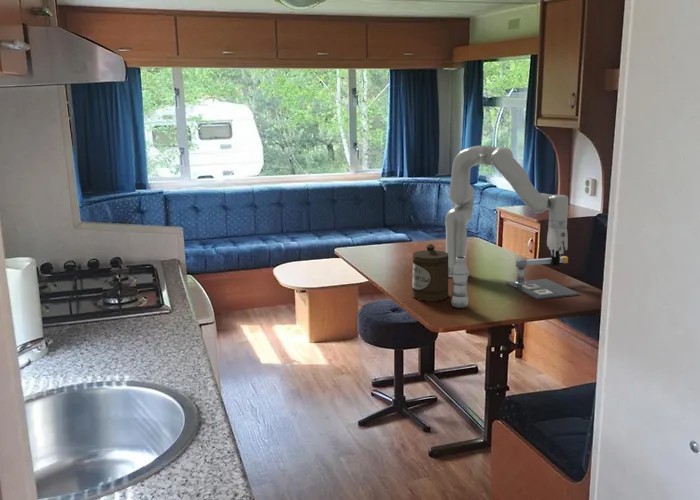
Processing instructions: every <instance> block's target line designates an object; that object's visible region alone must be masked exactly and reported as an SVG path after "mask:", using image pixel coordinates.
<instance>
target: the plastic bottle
mask: <svg viewBox="0 0 700 500" xmlns="http://www.w3.org/2000/svg"><path fill="white" fill-rule="evenodd" d="M465 259H466V261H465ZM455 262H456V264H455V265H454V266H453V268H452V291H451V292H452V294H451V299H450V302H451V305H452V307H455V308H458V309H462V308H467V306H468V304H469V297H468V278H469V276H468V273H469V274H470V271H469V267H468V266H467V264H466V265H465V262H466V263H467V257H466V258H465V257H462V256H458V257H456V260H455Z"/></svg>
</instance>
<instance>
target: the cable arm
mask: <svg viewBox="0 0 700 500" xmlns="http://www.w3.org/2000/svg"><path fill="white" fill-rule="evenodd" d="M549 264H550V265H551V257H545V258H544V257H543V258H531V259H525V258H516V259H515V267H516V268H525V269H526V268H527V266H535V265H549ZM560 264H569V257H568V256H566V255H561V256H560Z"/></svg>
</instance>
